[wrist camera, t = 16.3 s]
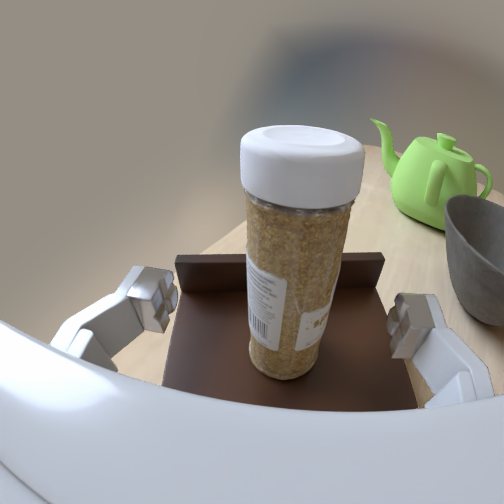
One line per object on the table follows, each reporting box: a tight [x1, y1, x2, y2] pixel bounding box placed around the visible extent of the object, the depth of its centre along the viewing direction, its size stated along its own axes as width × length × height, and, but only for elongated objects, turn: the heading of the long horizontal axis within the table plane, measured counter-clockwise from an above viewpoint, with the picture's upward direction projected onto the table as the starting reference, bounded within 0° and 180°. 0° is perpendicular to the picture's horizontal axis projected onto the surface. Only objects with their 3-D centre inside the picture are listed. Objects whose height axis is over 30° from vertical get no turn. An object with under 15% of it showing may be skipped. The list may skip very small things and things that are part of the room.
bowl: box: [444, 195, 504, 326], centre depth 22 cm, size 19×19×10 cm
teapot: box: [371, 119, 493, 231], centre depth 39 cm, size 19×20×14 cm
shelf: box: [162, 252, 418, 412], centre depth 19 cm, size 16×12×8 cm
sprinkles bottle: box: [240, 125, 365, 380], centre depth 13 cm, size 5×5×14 cm
